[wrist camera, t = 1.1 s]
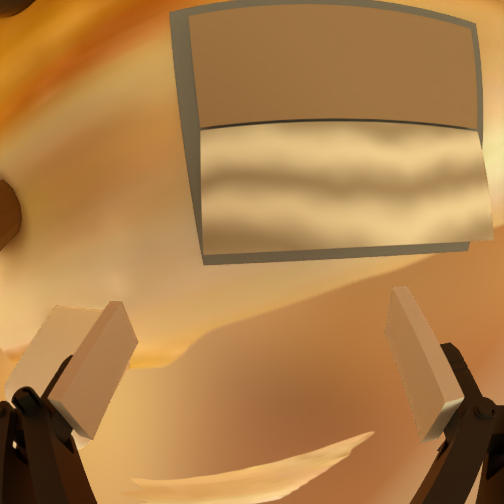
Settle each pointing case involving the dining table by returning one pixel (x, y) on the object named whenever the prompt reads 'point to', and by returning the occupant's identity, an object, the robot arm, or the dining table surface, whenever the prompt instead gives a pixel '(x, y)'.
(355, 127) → the plank
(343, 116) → the floor frame
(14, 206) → the flowerpot
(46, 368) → the milk
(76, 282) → the dining table surface
